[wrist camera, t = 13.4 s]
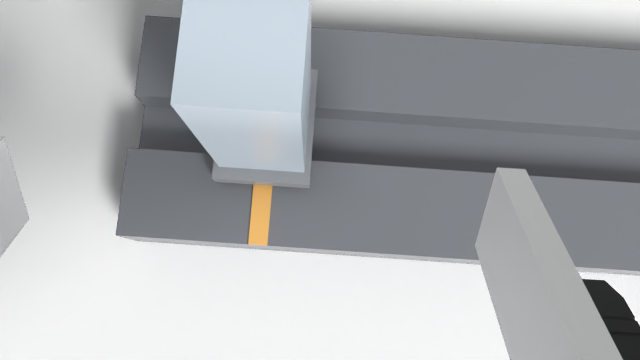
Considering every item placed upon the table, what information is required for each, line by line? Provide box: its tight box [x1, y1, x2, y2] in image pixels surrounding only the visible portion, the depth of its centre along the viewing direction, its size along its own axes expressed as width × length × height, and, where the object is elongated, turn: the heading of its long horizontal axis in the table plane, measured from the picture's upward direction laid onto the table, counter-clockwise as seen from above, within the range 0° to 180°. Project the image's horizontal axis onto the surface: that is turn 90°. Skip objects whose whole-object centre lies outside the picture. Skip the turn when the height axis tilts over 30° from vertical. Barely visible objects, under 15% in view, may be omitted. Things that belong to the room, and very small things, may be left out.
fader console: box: [116, 16, 640, 275], centre depth 26 cm, size 28×10×3 cm, turn 86°
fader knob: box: [170, 0, 318, 188], centre depth 20 cm, size 4×5×10 cm
